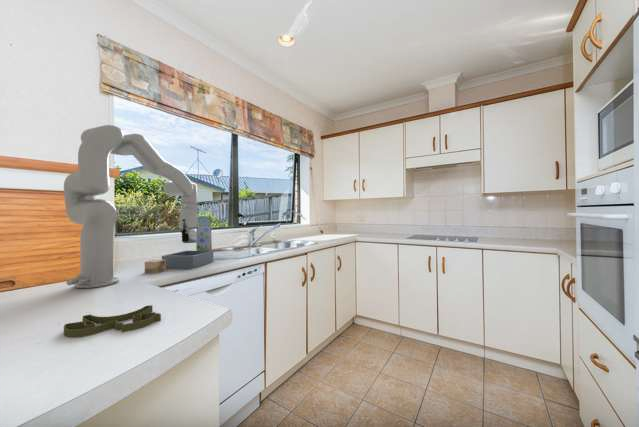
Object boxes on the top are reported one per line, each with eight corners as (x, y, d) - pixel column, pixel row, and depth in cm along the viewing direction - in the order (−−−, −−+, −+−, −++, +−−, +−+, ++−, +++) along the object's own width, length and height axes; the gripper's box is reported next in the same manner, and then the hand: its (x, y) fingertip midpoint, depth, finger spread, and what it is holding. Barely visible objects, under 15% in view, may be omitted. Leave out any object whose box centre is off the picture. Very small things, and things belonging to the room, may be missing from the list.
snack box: (195, 255, 170) (195, 215, 170) (210, 254, 174) (210, 215, 174) (195, 260, 150) (195, 215, 150) (212, 259, 154) (212, 215, 154)
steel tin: (179, 243, 135) (179, 229, 135) (187, 241, 141) (187, 228, 141) (192, 243, 134) (192, 229, 134) (198, 241, 141) (198, 228, 141)
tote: (193, 268, 127) (193, 256, 127) (161, 268, 128) (161, 255, 128) (213, 261, 147) (213, 250, 147) (185, 261, 148) (185, 250, 148)
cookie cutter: (160, 310, 72) (160, 303, 72) (160, 326, 61) (160, 318, 61) (71, 325, 62) (71, 317, 62) (54, 347, 52) (54, 336, 52)
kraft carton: (157, 273, 118) (157, 261, 118) (144, 273, 118) (144, 261, 118) (166, 270, 124) (166, 259, 124) (153, 270, 124) (153, 259, 124)
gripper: (191, 206, 147) (191, 239, 147) (171, 206, 129) (171, 242, 129) (204, 206, 146) (204, 239, 146) (186, 205, 129) (186, 242, 129)
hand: (189, 240), depth 138 cm, fingers closed on steel tin, 6 cm apart
